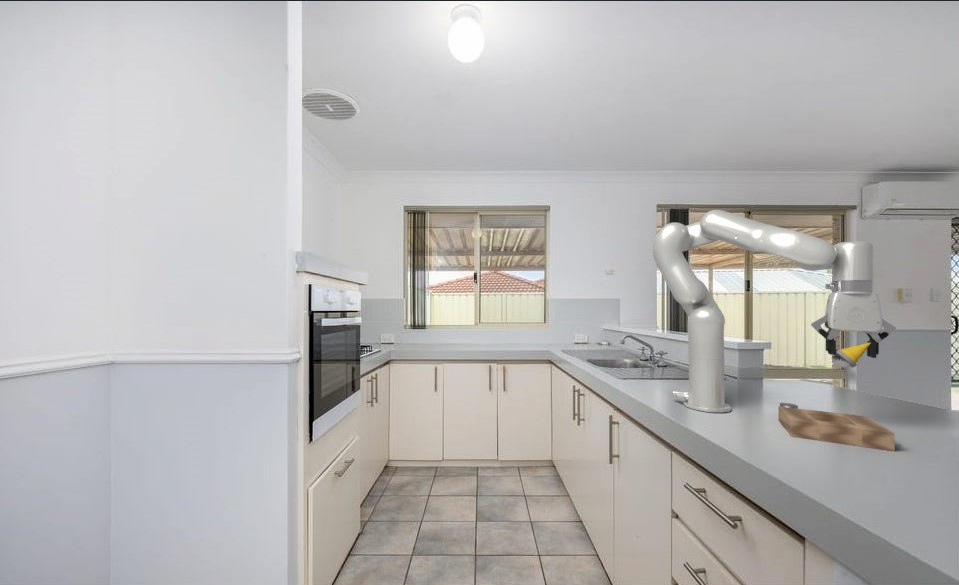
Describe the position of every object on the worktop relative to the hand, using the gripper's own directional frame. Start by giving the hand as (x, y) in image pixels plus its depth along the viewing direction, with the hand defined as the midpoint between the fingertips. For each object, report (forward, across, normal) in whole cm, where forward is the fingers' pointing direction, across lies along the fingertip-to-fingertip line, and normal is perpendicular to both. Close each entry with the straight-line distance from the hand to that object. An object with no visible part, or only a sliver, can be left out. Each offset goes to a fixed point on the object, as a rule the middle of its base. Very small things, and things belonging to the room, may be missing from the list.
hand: (851, 355), depth 98 cm
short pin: (+20, -12, +3) cm, 23 cm away
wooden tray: (+19, -6, -8) cm, 22 cm away
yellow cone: (+3, 0, 0) cm, 3 cm away
